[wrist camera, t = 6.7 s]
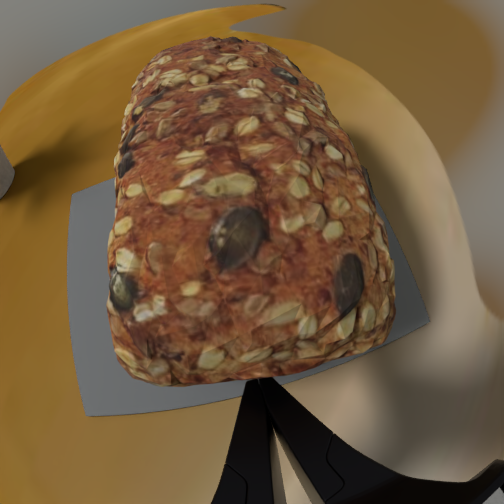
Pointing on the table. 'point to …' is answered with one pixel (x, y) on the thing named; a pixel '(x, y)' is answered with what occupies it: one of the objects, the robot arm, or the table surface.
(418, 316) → the serving mat
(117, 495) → the table surface
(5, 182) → the house plant
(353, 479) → the robot arm
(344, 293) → the bread
